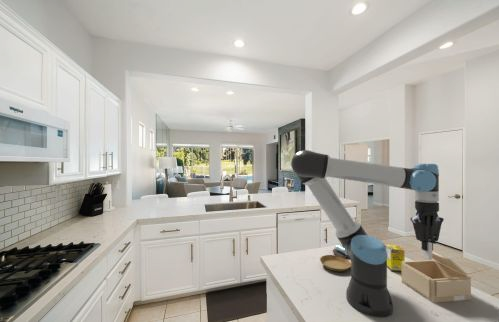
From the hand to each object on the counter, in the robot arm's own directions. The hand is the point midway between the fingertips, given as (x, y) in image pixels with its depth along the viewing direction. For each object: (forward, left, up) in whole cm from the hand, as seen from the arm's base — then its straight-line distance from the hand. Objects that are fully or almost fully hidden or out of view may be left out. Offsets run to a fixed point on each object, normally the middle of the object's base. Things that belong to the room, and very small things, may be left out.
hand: (427, 258), depth 84 cm
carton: (+3, 0, -14) cm, 14 cm away
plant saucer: (-27, +24, -14) cm, 39 cm away
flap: (+10, 0, -4) cm, 11 cm away
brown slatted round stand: (-14, +38, -14) cm, 43 cm away
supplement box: (+1, +18, -14) cm, 23 cm away
